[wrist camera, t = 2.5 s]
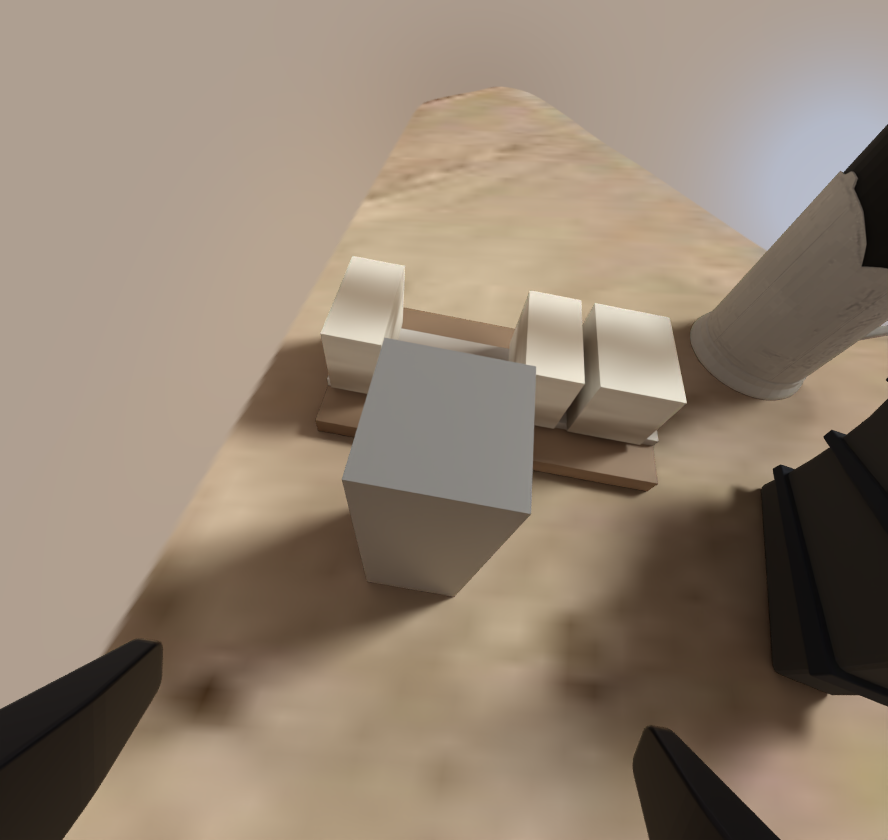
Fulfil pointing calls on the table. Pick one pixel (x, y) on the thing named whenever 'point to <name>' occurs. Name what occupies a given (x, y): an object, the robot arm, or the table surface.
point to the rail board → (532, 343)
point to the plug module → (439, 465)
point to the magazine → (832, 564)
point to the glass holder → (807, 289)
